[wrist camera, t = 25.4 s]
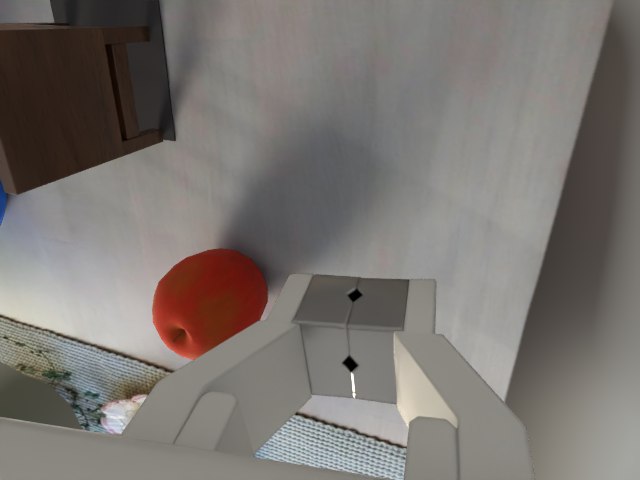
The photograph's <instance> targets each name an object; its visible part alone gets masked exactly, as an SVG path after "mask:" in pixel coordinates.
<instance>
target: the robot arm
mask: <svg viewBox="0 0 640 480" xmlns="http://www.w3.org/2000/svg"><path fill="white" fill-rule="evenodd" d="M435 317H436V280H435V279H410V280H409V279H380V278H361V277H349V276H334V275H319V274H315V275H314V274H300V273H293V274H291V275H289V276H288V278H287V280H286V282H285V284H284V286H283V288H282V290H281V292H280V294H279V296H278V298H277V300H276V301H275V303H274V305H273V307H272V309H271V311H270V313H269V315H268V317H267V319H266V321H257V322H256V323H254V324H253V325H251V326H249V327H248V328H246V329H244V330H243V331H241V332H239V333H238V334H236V335H234V336H233V337H231V338H229V339H228V340H226V341H224V342H223V343H221V344H220V345H218V346H216V347H215V348H213V349H211V350H210V351H208V352H206V353H205V354H203V355H201V356H200V357H198V358H196V359H195V360H193V361H191V362H190V363H188V364H187V365H185V366H183V367H182V368H180V369H178V370H177V371H175V372H173V373H172V374H170V375H168V376H167V377H165V378H163V379H162V380H160V381H158V382H157V384H156V385H155V386H154V388H153V389H152V391H151V392H150V394H149V395H148V396H147V398H146V399H145V401H144V402H143V404H142V405H141V406H140V408H139V409H138V411H137V412H136V414H135V415H134V416H133V418H132V419H131V421H130V422H129V424H128V425H127V426H126V428H125V429H124V431H123V432H122V434H121V435H120V436H117V435H110V434H104V433H98V432H92V431H85V430H79V429H72V428H66V427H60V426H54V425H47V424H41V423H35V422H29V421H22V420H16V419H10V418H4V417H0V480H393V479H386V478H380V477H374V476H368V475H361V474H355V473H349V472H343V471H336V470H330V469H324V468H317V467H311V466H305V465H299V464H292V463H286V462H280V461H274V460H267V459H261V458H255V456H254V454H255V453H256V452H257V451H258V450H259V449H260V448H261V447H262V446H263V445H264V444H265V443H266V442H267V441H268V440H269V439H270V438H271V437H272V436H273V435H274V434H275V433H276V432H277V431H278V430H279V429H280V428H281V427H282V426H283V425H284V424H285V423H286V422H287V421H288V420H289V419H290V418H291V417H292V416H293V415H294V414H295V413H296V412H297V411H298V410H299V409H300V408H301V407H302V406H303V405H304V404H305V403H306V402H307V401H308V400H309V399H310V398H311V397H312V396H311V395H322V396H334V397H345V398H355V399H362V400H369V401H376V402H383V403H390V404H397V408H398V410H399V411H400V413H401V415H402V417H403V419H404V421H405V423H406V425H407V427H408V429H409V432H408V442H407V452H406V462H405V473H404V480H536V479H535V473H534V468H533V463H532V456H531V451H530V445H529V440H528V434H527V428H526V427H525V425H524V424H523V423H522V422H521V421H520V420H519V419H518V418H517V417H516V416H515V414H514V413H513V412H512V411H511V410H510V409H509V408H508V406H507V405H506V404H505V403H504V402H503V401H502V400H501V399H500V398H499V396H498V395H497V394H496V393H495V392H494V391H493V390H492V389H491V388H490V386H489V385H488V384H487V383H486V382H485V381H484V380H483V379H482V378H481V376H480V375H479V374H478V373H477V372H476V371H475V370H474V369H473V368H472V366H471V365H470V364H469V363H468V362H467V361H466V360H465V359H464V358H463V356H462V355H461V354H460V353H459V352H458V351H457V350H456V349H455V348H454V346H453V345H452V344H451V343H450V342H449V341H448V340H447V339H446V338H445V336H444V335H442V334H435Z"/></svg>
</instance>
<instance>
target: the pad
mask: <svg viewBox="0 0 640 480" xmlns="http://www.w3.org/2000/svg"><path fill="white" fill-rule="evenodd" d="M50 3H51V8H52V12H53V17H54V22H55V23H69V26H79V27H112V26H148V30H149V33H150V42H137V43H125V44H126V49H127V55H128V62H129V68H130V75H131V81H132V87H133V94H134V100H135V106H136V113H137V119H138V126H139V132H141V131H144V130H147V129H150V128H156V129H162V132H163V139H164V140H171V141H175V133H174V125H173V117H172V108H171V100H170V91H169V83H168V75H167V66H166V58H165V49H164V41H163V33H162V24H161V16H160V8H159V0H50Z"/></svg>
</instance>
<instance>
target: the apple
mask: <svg viewBox="0 0 640 480" xmlns="http://www.w3.org/2000/svg"><path fill="white" fill-rule="evenodd" d="M267 302H268V293H267V285H266V282H265V279H264V277H263V274H262V272H261V271H260V269H259V268H258V267H257V266H256V265H255V263H254V262H253V261H252V260H251V259H250V258H248V257H246V256H244V255H243V254H241V253H239V252H237V251H233V250H227V249H213V250H207V251H204V252H201V253H199V254H196V255H193V256H190V257H187V258H185V259H184V260H182V261H181V262H179V263H178V264H176V265H175V266H174V267H173V268H172V269H171V270H170V271H169V272H168V273H167V274H166V275H165V276H164V277H163V278H162V279H161V280H160V281H159V283H158V286H157V289H156V291H155V294H154V300H153V308H152V313H153V323H154V325H155V327H156V329H157V331H158V333H159V335H160V337H161V339H162V340H163V342H164V343H165V344H166V345H167V347H168V348H170V349H171V350H173V351H174V352H176V353H177V354H179V355H180V356H182V357H185V358H189V359H193V360H195V359H196V358H198V357H200V356H201V355H203V354H205V353H206V352H208V351H210V350H211V349H213V348H215V347H216V346H218V345H220V344H221V343H223V342H224V341H226V340H228V339H229V338H231V337H233V336H234V335H236V334H238V333H239V332H241V331H243V330H244V329H246V328H248V327H249V326H251V325H253V324H254V323H256V322H257V321H260V318H261V316H262V314H263V311H264V309H265V307H266V304H267Z"/></svg>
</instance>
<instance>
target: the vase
mask: <svg viewBox="0 0 640 480" xmlns="http://www.w3.org/2000/svg"><path fill="white" fill-rule="evenodd" d="M5 207H6V193H5V192H4V189H3V186H2V182H1V179H0V225H1V222H2V220H3V217H4V213H5Z"/></svg>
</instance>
